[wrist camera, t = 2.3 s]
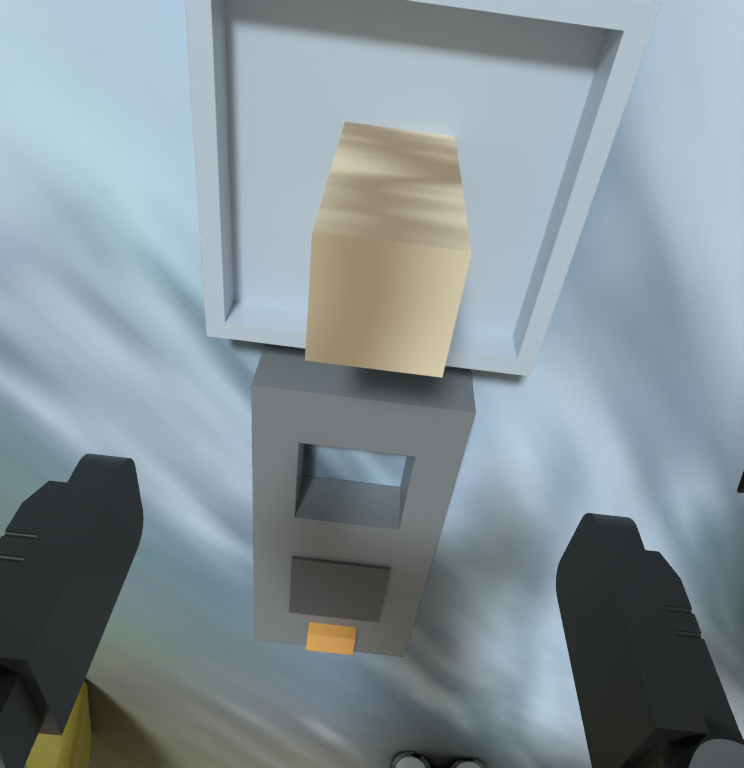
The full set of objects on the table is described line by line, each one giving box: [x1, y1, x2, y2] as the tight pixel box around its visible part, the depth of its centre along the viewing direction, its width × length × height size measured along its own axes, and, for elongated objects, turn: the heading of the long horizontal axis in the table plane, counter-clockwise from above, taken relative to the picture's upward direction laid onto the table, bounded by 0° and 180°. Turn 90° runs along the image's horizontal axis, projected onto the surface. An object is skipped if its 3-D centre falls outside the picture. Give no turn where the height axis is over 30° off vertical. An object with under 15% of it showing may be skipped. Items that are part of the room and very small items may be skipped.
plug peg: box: [305, 122, 472, 377], centre depth 20 cm, size 4×4×9 cm
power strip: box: [252, 346, 476, 657], centre depth 36 cm, size 10×22×4 cm, turn 173°
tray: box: [185, 0, 661, 376], centre depth 23 cm, size 14×14×2 cm
